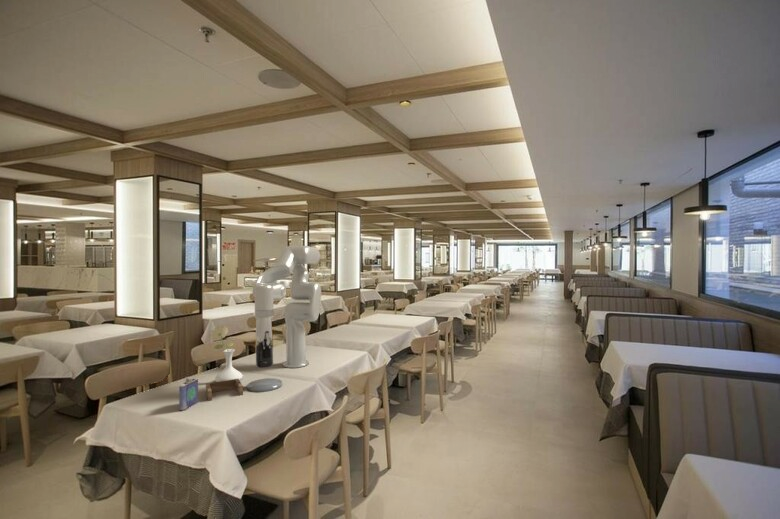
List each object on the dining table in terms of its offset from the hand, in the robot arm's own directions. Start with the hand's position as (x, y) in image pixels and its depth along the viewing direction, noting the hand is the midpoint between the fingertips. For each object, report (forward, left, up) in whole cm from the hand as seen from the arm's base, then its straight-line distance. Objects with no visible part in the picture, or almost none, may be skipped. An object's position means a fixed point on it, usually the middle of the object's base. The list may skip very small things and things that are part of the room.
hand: (264, 355), depth 164 cm
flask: (+8, -29, -13) cm, 33 cm away
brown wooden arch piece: (+1, -16, -13) cm, 21 cm away
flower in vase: (-15, -13, -13) cm, 24 cm away
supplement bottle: (0, 0, -4) cm, 4 cm away
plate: (0, 0, -13) cm, 13 cm away
